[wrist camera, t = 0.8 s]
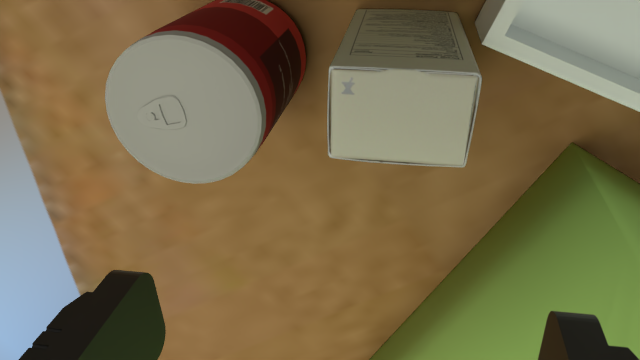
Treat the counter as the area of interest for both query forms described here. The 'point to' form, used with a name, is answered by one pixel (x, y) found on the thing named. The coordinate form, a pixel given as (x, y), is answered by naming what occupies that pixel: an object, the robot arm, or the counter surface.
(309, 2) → the counter surface
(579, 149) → the canister
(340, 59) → the skincare box
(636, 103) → the tote
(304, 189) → the counter surface
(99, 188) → the counter surface
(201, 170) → the canned food
